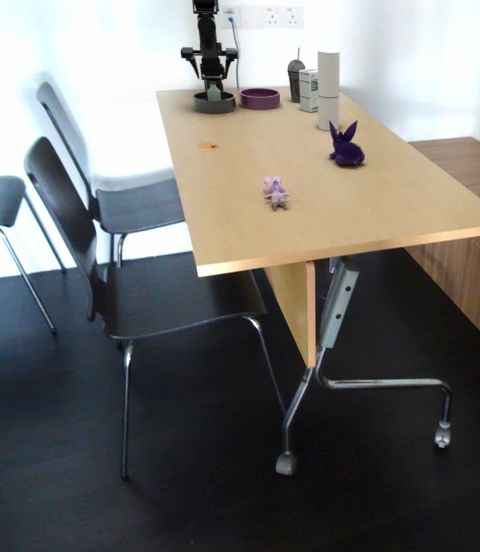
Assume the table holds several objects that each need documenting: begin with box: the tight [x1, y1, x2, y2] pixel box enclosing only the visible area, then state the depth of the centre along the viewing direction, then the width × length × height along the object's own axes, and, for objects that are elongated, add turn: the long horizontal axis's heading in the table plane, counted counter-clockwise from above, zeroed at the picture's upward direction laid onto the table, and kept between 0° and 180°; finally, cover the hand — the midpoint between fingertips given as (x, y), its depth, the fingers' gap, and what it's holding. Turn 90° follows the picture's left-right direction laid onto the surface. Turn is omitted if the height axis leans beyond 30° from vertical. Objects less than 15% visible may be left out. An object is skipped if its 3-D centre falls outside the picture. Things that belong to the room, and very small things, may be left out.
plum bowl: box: [238, 87, 281, 111], centre depth 213 cm, size 15×15×5 cm
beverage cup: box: [286, 46, 307, 104], centre depth 219 cm, size 7×7×20 cm
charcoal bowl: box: [192, 90, 237, 115], centre depth 205 cm, size 15×15×5 cm
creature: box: [328, 119, 366, 166], centre depth 165 cm, size 9×18×12 cm, turn 27°
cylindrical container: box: [317, 48, 341, 131], centre depth 190 cm, size 7×7×25 cm
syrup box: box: [299, 67, 318, 113], centre depth 211 cm, size 6×6×14 cm
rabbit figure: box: [263, 175, 291, 210], centre depth 140 cm, size 6×6×15 cm
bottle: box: [207, 81, 221, 101], centre depth 203 cm, size 4×4×10 cm
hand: (212, 78), depth 200 cm, fingers open, 9 cm apart
